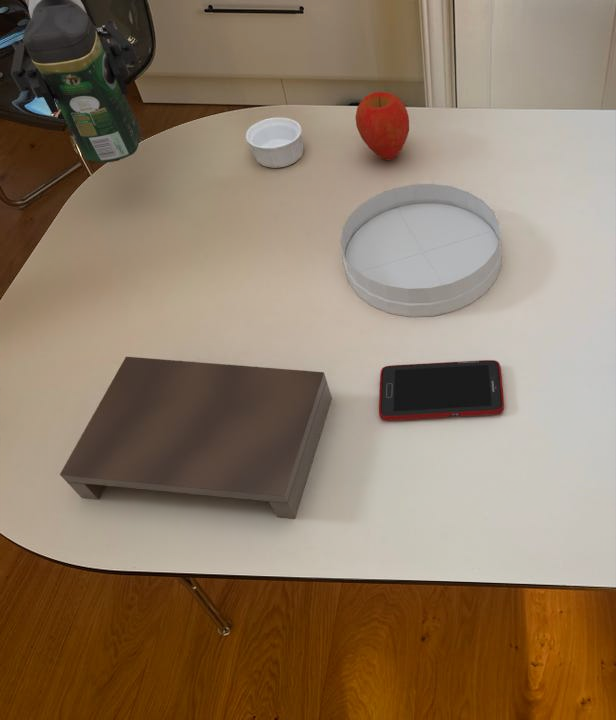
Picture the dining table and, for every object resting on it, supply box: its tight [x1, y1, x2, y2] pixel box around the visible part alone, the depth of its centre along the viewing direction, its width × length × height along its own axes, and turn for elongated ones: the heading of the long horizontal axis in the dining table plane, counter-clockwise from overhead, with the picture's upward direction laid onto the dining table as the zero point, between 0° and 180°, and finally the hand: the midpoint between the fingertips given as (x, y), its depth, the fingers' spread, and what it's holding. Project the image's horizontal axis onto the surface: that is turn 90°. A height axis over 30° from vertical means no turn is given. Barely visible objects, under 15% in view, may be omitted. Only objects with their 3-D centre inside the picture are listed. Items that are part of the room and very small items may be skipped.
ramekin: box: [245, 117, 304, 169], centre depth 115 cm, size 9×9×4 cm
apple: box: [355, 91, 410, 161], centre depth 112 cm, size 9×8×11 cm
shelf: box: [59, 356, 333, 519], centre depth 79 cm, size 24×16×5 cm, turn 83°
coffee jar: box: [22, 4, 141, 164], centre depth 94 cm, size 10×8×19 cm
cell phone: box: [378, 359, 505, 421], centre depth 84 cm, size 8×15×1 cm, turn 93°
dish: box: [340, 183, 503, 318], centre depth 98 cm, size 22×22×5 cm
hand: (86, 93), depth 91 cm, fingers closed on coffee jar, 8 cm apart
